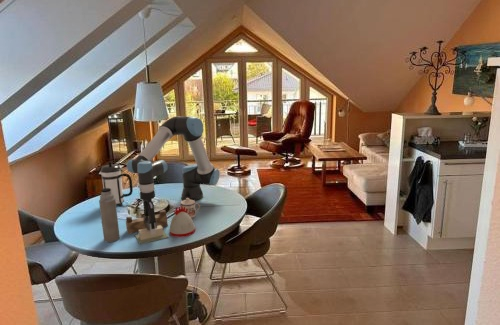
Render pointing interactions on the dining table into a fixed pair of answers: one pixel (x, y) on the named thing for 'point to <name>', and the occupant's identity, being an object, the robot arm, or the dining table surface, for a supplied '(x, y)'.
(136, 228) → the hand plane
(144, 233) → the butter dish
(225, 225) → the dining table surface
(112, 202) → the thermos bottle
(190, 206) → the teacup with lid
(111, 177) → the coffee press
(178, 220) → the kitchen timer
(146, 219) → the lever cap
